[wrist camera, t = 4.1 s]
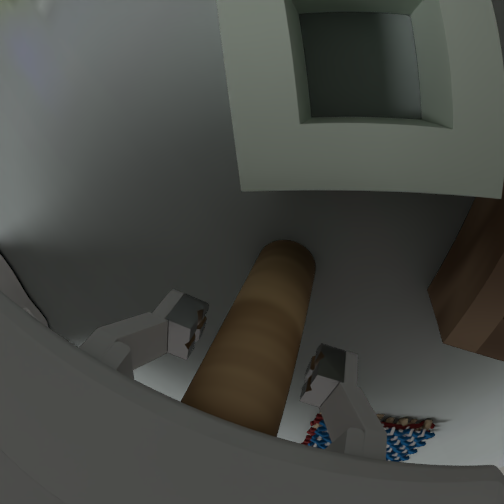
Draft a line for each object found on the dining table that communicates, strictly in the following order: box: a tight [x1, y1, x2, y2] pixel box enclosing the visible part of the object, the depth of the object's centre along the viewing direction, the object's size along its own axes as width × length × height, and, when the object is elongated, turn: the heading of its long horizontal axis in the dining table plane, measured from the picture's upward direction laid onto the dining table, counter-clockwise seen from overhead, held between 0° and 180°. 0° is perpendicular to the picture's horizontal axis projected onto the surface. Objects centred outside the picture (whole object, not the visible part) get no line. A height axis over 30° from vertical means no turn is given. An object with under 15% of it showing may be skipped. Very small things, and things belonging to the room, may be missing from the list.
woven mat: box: [301, 412, 435, 462], centre depth 22 cm, size 10×11×2 cm
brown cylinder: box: [181, 240, 315, 437], centre depth 11 cm, size 3×3×12 cm
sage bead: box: [216, 0, 504, 199], centre depth 8 cm, size 9×9×4 cm
